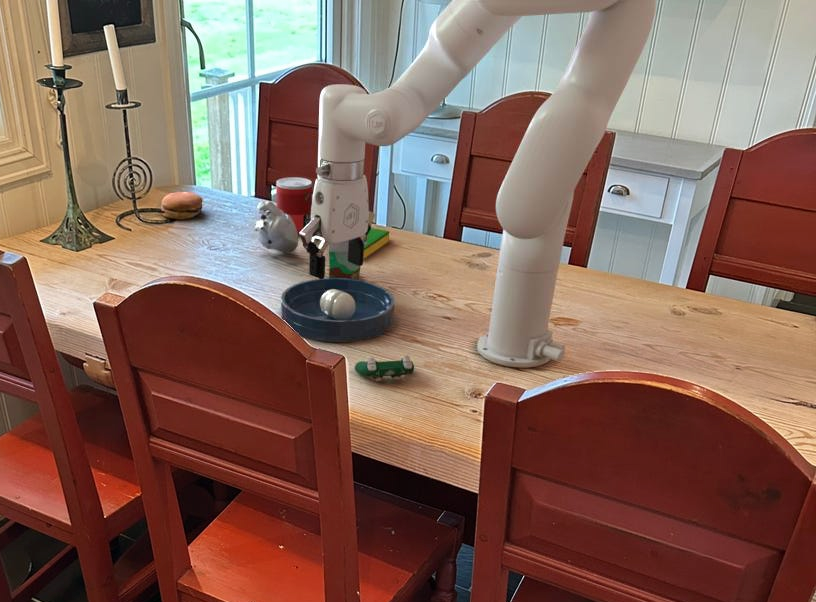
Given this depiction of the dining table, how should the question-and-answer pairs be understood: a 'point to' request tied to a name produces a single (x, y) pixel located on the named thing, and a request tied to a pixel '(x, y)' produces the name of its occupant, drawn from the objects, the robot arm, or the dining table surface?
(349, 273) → the food container
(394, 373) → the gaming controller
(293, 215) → the canned food
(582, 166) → the robot arm
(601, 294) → the dining table surface
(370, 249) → the dish sponge
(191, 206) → the burger
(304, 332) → the basin
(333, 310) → the egg
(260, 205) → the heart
